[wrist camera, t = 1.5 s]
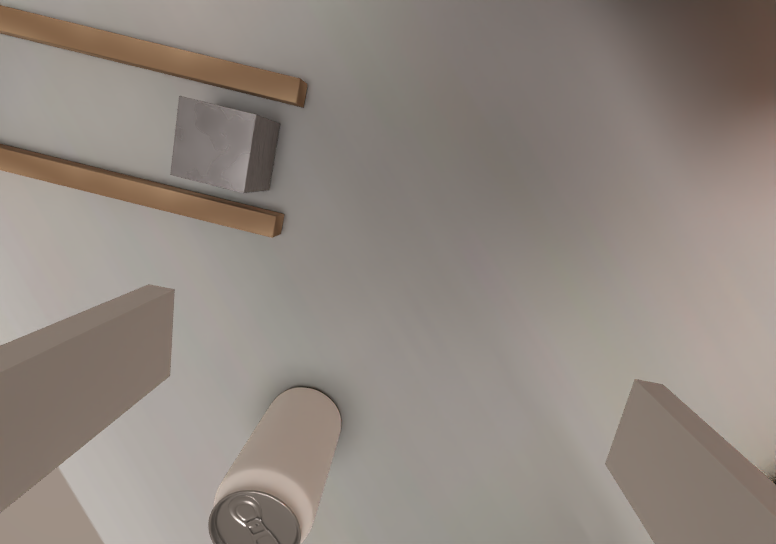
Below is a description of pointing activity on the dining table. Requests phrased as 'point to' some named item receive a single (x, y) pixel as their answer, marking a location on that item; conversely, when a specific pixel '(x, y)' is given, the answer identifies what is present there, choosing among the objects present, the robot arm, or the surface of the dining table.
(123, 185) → the oak track
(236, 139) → the block
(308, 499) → the can
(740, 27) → the dining table surface
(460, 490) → the dining table surface
